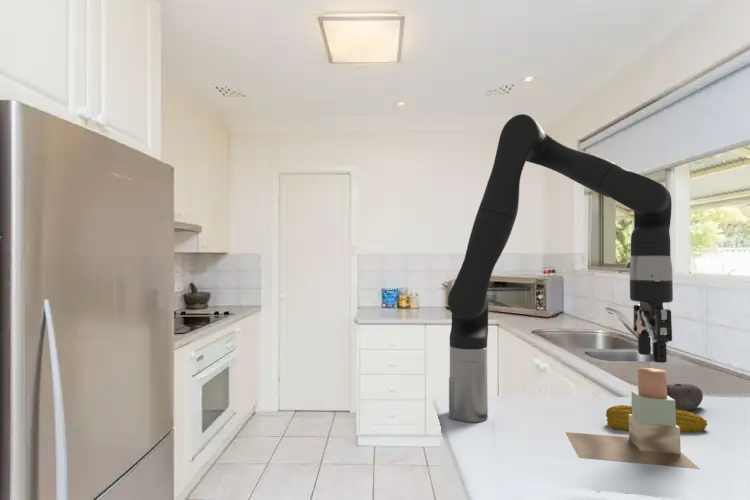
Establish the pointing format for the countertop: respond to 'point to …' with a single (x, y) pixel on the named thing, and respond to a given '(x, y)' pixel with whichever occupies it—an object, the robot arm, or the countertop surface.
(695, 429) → the food
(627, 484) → the countertop surface
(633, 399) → the top block
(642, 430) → the base block
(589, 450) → the board
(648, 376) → the peach rounded cylinder
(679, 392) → the perforated stone tool
